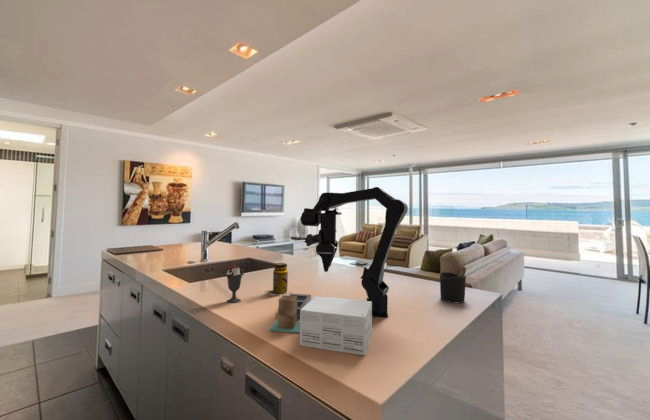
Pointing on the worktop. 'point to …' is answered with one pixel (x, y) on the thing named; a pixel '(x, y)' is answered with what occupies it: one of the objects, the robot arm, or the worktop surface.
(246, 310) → the worktop surface
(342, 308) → the supplement box
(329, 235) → the robot arm
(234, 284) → the sundae
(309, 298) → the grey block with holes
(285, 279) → the condiment
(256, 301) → the worktop surface
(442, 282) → the pen holder
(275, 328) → the mat
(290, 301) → the peg
